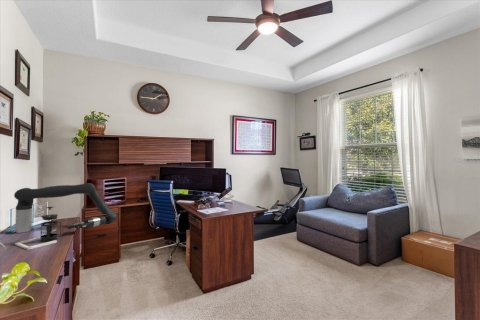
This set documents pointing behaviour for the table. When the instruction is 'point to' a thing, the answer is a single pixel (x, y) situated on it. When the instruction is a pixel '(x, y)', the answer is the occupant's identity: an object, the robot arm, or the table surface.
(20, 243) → the bay
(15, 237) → the table surface
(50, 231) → the french press
